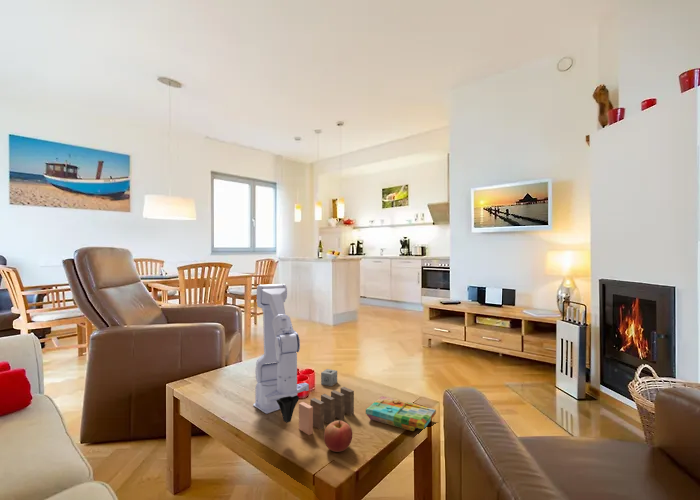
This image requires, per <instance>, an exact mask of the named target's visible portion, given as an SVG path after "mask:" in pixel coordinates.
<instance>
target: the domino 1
mask: <svg viewBox="0 0 700 500" xmlns="http://www.w3.org/2000/svg"><path fill="white" fill-rule="evenodd" d="M298 430H300V431H301V432H303V433H305V434H307V435H308V436H310V435H312V434H314V426H313V407H312V406H310V404H309V403H306V402H305V401H301V402H299V403H298Z"/></svg>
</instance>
